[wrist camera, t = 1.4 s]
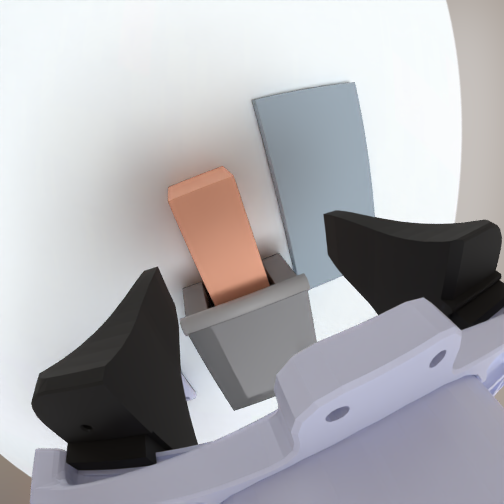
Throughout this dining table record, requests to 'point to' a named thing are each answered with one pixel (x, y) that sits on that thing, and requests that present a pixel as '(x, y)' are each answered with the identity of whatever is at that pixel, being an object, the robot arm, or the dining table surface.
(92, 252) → the dining table surface
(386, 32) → the dining table surface
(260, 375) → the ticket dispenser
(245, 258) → the bar
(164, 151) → the dining table surface
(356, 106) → the slate mat
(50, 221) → the dining table surface
